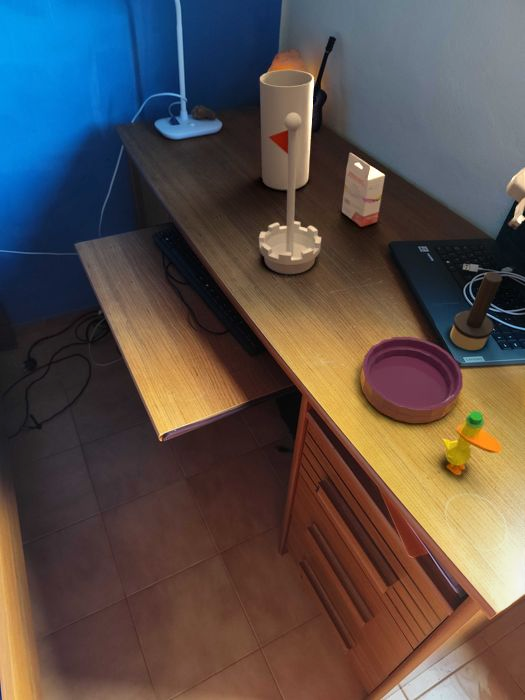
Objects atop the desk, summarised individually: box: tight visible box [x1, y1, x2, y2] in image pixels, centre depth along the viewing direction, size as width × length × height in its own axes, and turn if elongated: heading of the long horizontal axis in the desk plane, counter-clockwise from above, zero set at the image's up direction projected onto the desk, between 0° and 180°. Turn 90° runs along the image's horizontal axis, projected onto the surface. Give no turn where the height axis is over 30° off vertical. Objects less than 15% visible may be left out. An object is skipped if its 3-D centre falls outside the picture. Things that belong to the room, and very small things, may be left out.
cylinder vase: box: [259, 69, 315, 191], centre depth 117 cm, size 12×12×25 cm
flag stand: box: [258, 113, 322, 275], centre depth 90 cm, size 13×13×30 cm
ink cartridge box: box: [341, 152, 386, 228], centre depth 107 cm, size 9×5×15 cm, turn 27°
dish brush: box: [449, 271, 503, 351], centre depth 78 cm, size 6×6×14 cm
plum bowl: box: [359, 336, 464, 424], centre depth 75 cm, size 15×15×4 cm
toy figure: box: [441, 410, 503, 476], centre depth 61 cm, size 7×4×12 cm, turn 48°
